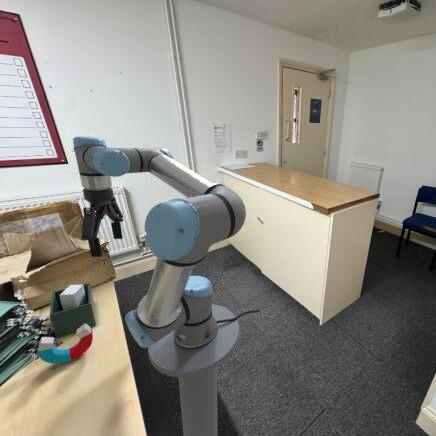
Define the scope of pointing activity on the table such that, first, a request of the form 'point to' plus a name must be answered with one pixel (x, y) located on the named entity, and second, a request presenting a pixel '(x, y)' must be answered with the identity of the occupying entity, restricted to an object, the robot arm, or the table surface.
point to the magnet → (64, 355)
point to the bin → (71, 314)
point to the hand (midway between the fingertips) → (108, 246)
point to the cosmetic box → (73, 297)
